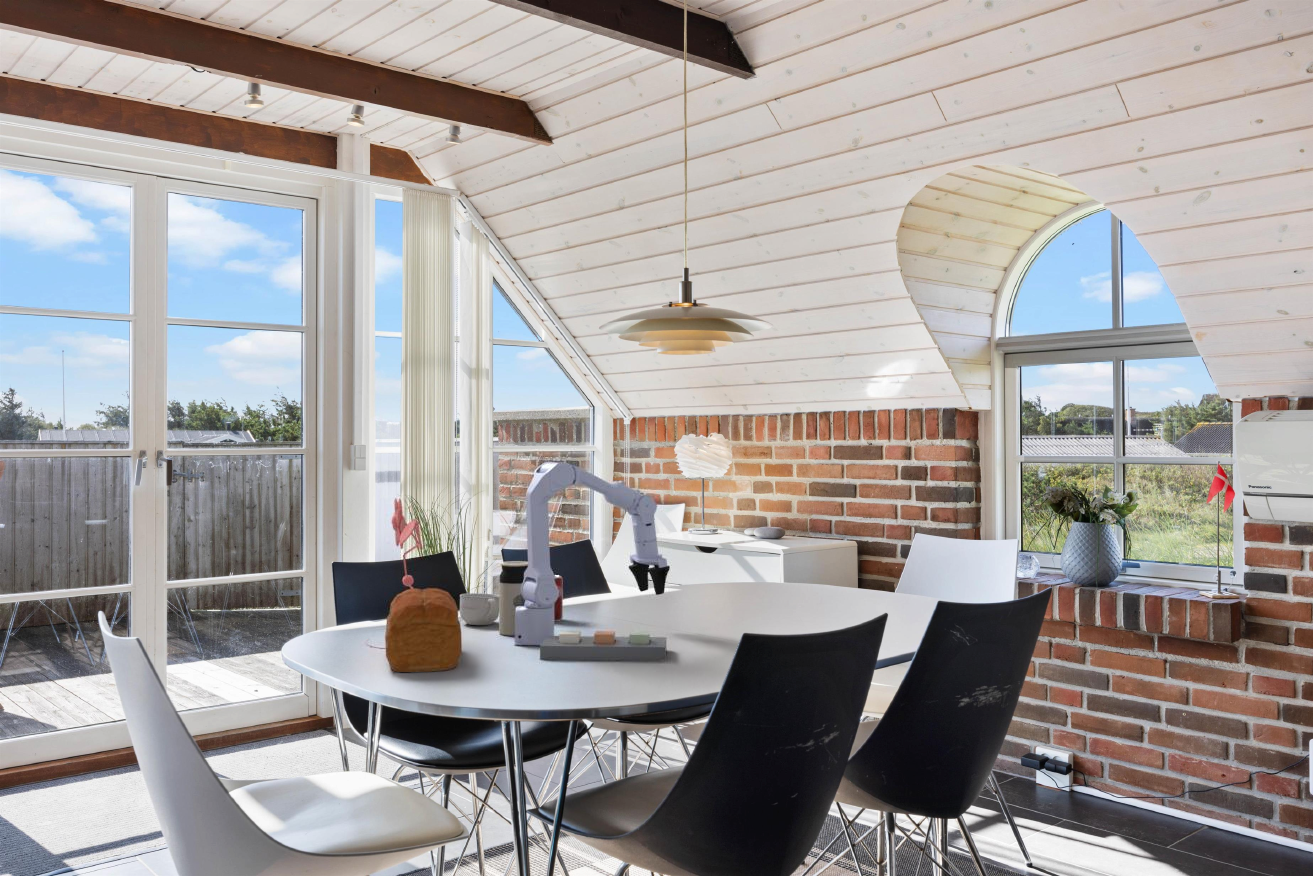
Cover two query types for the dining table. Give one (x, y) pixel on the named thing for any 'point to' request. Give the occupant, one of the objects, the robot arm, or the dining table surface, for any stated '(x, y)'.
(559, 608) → the soda can
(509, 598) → the travel mug
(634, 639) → the sage button
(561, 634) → the cream button
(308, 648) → the dining table surface
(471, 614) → the teacup
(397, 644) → the bread
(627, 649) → the button panel
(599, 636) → the rust button
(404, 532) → the figurine
